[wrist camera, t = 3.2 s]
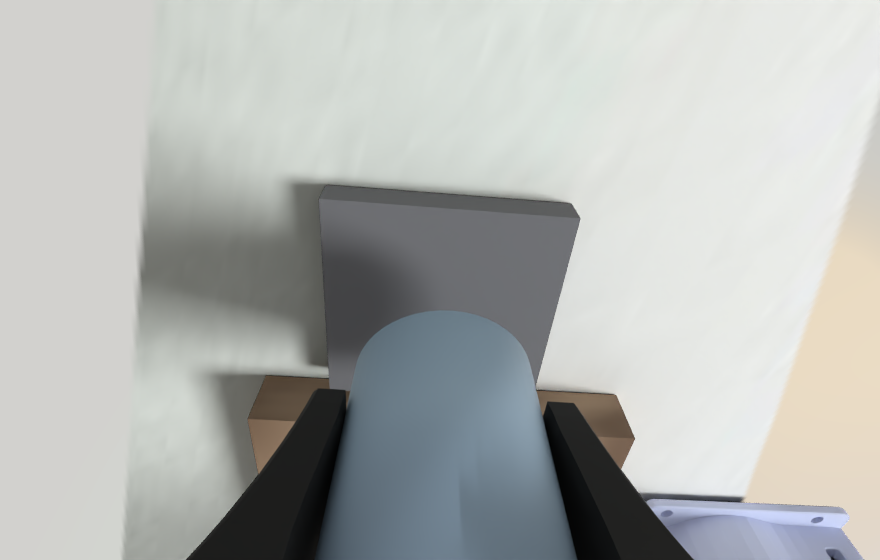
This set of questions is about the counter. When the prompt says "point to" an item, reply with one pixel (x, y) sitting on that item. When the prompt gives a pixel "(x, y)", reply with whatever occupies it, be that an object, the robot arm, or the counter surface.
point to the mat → (439, 265)
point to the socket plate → (291, 394)
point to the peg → (444, 450)
